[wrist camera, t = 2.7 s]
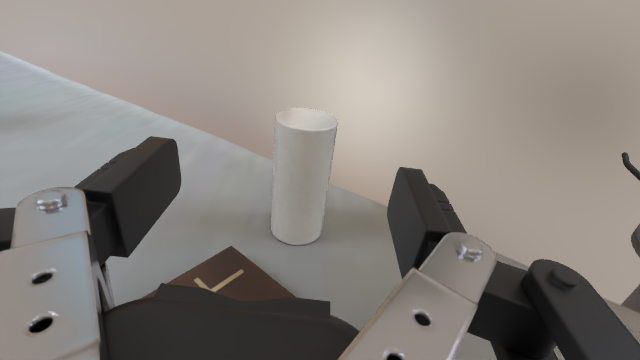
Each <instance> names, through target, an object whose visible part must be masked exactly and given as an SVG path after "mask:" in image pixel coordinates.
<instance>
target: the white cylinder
mask: <svg viewBox="0 0 640 360" xmlns="http://www.w3.org/2000/svg"><path fill="white" fill-rule="evenodd" d="M337 124H338V122H337V119H336V118H335V117H334V116H332V115H330V114H328V113H326V112H323V111H320V110H316V109H310V108H289V109H284V110H282V111H279V112H278V113H277V114H276V116H275V136H274V138H275V139H274V161H273V185H272V209H271V231H272V233H273V235H274V236H275V237H276V238H277V239H278V240H280V241H282V242H284V243H287V244H290V245H305V244H309V243H312V242H314V241H315V240H316V239H318V237H319V236H320V235H321V232H322V226H323V219H324V212H325V205H326V199H327V192H328V185H329V179H330V172H331V164H332V158H333V151H334V145H335V138H336V131H337Z"/></svg>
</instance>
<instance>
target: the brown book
mask: <svg viewBox="0 0 640 360" xmlns="http://www.w3.org/2000/svg"><path fill="white" fill-rule="evenodd" d="M167 284H173V285H182V286H191V287H200V288H205V289H208V290H211V291H214V292H216V293H219V294H222V295H225V296H228V297H230V298H233V299H236V300H239V301H243V302H250V301H259V300H268V299H277V298H286V297H292V298H296V297H295V296H294V295H292V294H291V293H290V292H289V291H287V290H286V289H285V288H284V287H282V286H281V285H280V284H279V283H277V282H276V281H275V280H274V279H272V278H271V277H270V276H269V275H267V274H266V273H265V272H264V271H262V270H261V269H260V268H259V267H257V266H256V265H255V264H254V263H252V262H251V261H250V260H249V259H247V258H246V257H245V256H244V255H242V254H241V253H240V252H239V251H237V250H236V249H235V248H234V247H232V246H230V247H228V248H227V249H225V250H223V251H222V252H220V253H218V254H216V255H215V256H213V257H211V258H210V259H208V260H206V261H205V262H203V263H201V264H199V265H198V266H196V267H194V268H193V269H191V270H189V271H187V272H186V273H184V274H182V275H181V276H179V277H177V278H175V279H174V280H172V281H170V282H169V283H167ZM157 290H158V289H157ZM157 290H155V291H153V292H152V293H150V294H148V295H146V296H145V297H143V298H148V297H153V296H154V295H155V293H156V291H157ZM143 298H141V299H143Z"/></svg>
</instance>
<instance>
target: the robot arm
mask: <svg viewBox="0 0 640 360" xmlns="http://www.w3.org/2000/svg"><path fill="white" fill-rule="evenodd" d="M622 158H623V163H624V165H625V167H626V168H627V169H628V170H629V171H630V172H631V173H632V174H633V175H634V176H635V177H637V179H638V180H640V172H639V171H638V170H637V169H636V168H635V167H634V166H633V165H632V164H631V163H630V161H629V157H628V154H627V153H623V154H622ZM180 186H181V173H180V165H179V156H178V148H177V143H176V141H175V140H174V139H169V138H161V137H152V136H151V137H149V138H147V139H146V140H145V141H144V142H142V143H141V144H140V145H138V146H137V147H136V148H133V149H130V150H127V151H125V152H122V153H120V154H118V155H117V156H115V157H114V158H113V159H111V160H110V161H109V163H106V164H105V165H103V166H102V167H101V169H98V170H97V171H95V172H94V173H92V174H91V175H90V176H88V177H87V178H86V179H84V180H83V181H82V182H80V183H79V184H78V185H76V186H75V187H74V188H72V187H57V188H51V189H46V190H42V191H39V192H36V193H34V194H32V195H30V196H28V197H26V198H24V199H23V200H22V201H21V202H19V204H18V205H17V207H16V208H4V209H0V360H454V358H455V356H456V354H457V352H458V350H459V347H460V345H461V343H462V341H463V339H464V336H465V334H466V332H468V333H471V334H473V335H476V336H478V337H481V338H483V339H486V340H489V341H490V342H491V345H492V347H493V350H494V352H495V355H496V357H497V360H558V358H557V356H556V355H555V353H554V351H553V349H554V348H555V347H556V346H558V348H559V350H560V352H561V353H562V355H563V357H564V358H565V360H640V344H639V343H638V342H637V340H636V339H635V338H634V337H633V335H632V334H631V333H630V332H629V331H628V329H627V328H626V327H625V326H624V324H623V323H622V322H621V321H620V320H619V318H618V317H617V316H616V315H615V313H614V312H613V311H612V310H611V309H610V307H609V306H608V305H607V304H606V302H605V301H604V300H603V299H602V298H601V296H600V295H599V294H598V293H597V292H596V290H595V289H594V288H593V287H592V285H591V284H590V283H589V282H588V281H587V280H586V279H585V278H584V277H582V276H581V275H580V274H579V273H577V272H576V271H574V270H573V269H571V268H569V267H567V266H565V265H563V264H560V263H558V262H555V261H551V260H544V259H541V260H536V261H534V262H533V263H532V264H531V266H530V267H529V269H528V271H526V270H522V269H519V268H516V267H513V266H510V265H507V264H504V263H501V262H499V261H497V257H496V254H495V252H494V251H493V250H492V248H491V247H490V246H488V245H487V244H486V243H485V242H483V241H482V240H480V239H478V238H477V237H474V236H472V235H469V234H467V233H466V231H465V229H464V227H463V226H462V224H461V222H460V220H459V218H458V217H457V215H456V213H455V212H454V209H453V208H452V206H451V204H449V200H448V199H447V197H446V195H445V193H444V192H443V191H441V190H440V189H439V188H438V187H437V186H435V185H434V184H429V183H428V181H427V179H426V177H425V175H424V173H423V171H422V170H421V169H412V168H404V167H400V168H399V170H398V172H397V174H396V178H395V182H394V185H393V189H392V193H391V196H390V200H389V204H388V211H387V217H388V222H389V227H390V231H391V235H392V239H393V243H394V247H395V251H396V256H397V260H398V264H399V268H400V272H401V276H402V281H401V282H400V283H399V284H398V286H397V287H396V288H395V289H394V291H393V292H392V293H391V294H390V296H389V297H388V298H387V299H386V300H385V302H384V303H383V304H382V305H381V307H380V308H379V309H378V310H377V312H376V313H375V314H374V315H373V317H372V318H371V319H370V320H369V321H368V323H367V324H366V325H365V326H364V328H363V329H362V330H361V331H359V330H357V329H356V328H355V327H353V326H352V325H350V324H348V323H347V322H345V321H343V320H341V319H339V318H337V317H334V316H331V315H330V302H329V301H320V300H311V299H301V298H292V297H286V298H277V299H268V300H259V301H250V302H243V301H239V300H236V299H233V298H230V297H228V296H225V295H222V294H219V293H216V292H214V291H211V290H208V289H205V288H200V287H191V286H182V285H173V284H164V283H161V285H160V286H159V288H158V290H157V291H156V293H155V295H154V296H153V297H148V298H143V299H138V300H134V301H131V302H128V303H124V304H122V305H119V306H117V307H115V305H114V299H113V294H112V289H111V283H110V278H109V272H108V268H107V264H106V260H107V259H108V258H109V257H110V256H118V257H127V258H128V257H129V256H130V254H131V253H132V252H133V250H134V249H135V248H136V247H137V245H138V244H139V243H140V242H141V240H142V239H143V238H144V236H145V235H146V234H147V233H148V231H149V230H150V229H151V227H152V226H153V225H154V224H155V222H156V221H157V220H158V219H159V217H160V216H161V215H162V213H163V212H164V211H165V210H166V208H167V207H168V206H169V204H170V203H171V202H172V201H173V199H174V198H175V197H176V196H177V194H178V192H179V190H180Z"/></svg>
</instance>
